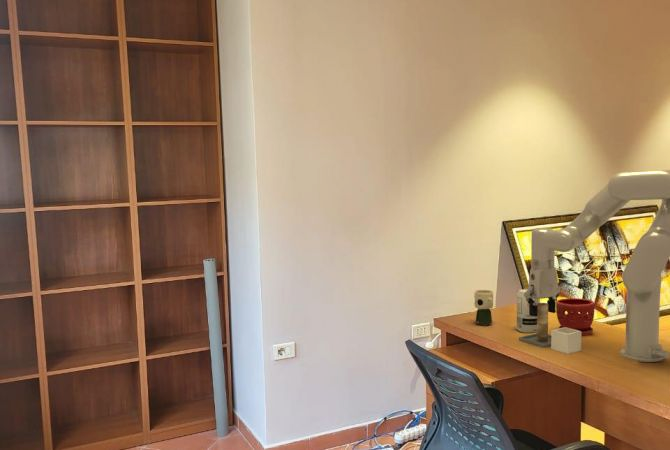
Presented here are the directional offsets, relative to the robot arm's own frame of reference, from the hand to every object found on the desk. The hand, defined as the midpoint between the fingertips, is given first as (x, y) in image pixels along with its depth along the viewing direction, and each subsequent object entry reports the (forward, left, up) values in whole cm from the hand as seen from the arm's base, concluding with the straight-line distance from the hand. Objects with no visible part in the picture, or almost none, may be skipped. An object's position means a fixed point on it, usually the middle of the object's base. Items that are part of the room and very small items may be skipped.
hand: (542, 313), depth 218 cm
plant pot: (+2, -19, -11) cm, 22 cm away
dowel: (0, 0, -10) cm, 10 cm away
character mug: (+30, -1, -11) cm, 32 cm away
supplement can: (+14, -8, -11) cm, 19 cm away
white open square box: (-11, +1, -10) cm, 15 cm away
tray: (0, 0, -10) cm, 10 cm away
